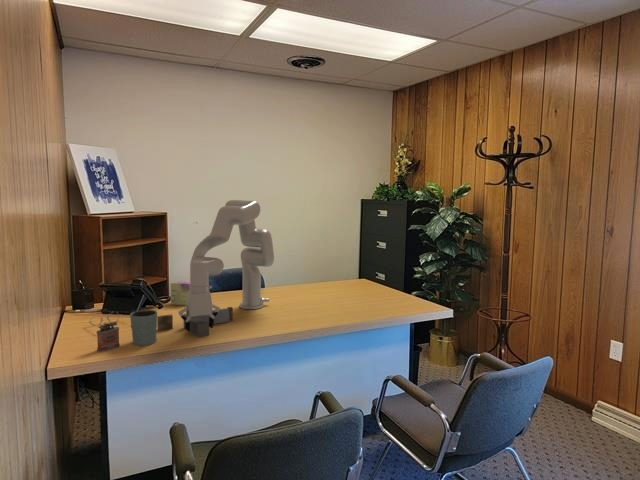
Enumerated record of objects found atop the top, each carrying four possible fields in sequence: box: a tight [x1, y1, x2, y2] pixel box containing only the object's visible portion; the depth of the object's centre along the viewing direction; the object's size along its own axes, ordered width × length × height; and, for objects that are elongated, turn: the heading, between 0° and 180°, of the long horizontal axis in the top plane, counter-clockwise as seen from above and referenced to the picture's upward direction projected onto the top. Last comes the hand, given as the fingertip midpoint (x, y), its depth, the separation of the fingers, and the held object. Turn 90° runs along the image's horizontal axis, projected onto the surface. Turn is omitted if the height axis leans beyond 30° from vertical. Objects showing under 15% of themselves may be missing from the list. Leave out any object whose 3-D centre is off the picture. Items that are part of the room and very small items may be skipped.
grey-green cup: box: [129, 309, 158, 347], centre depth 170 cm, size 10×10×12 cm
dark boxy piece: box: [188, 317, 210, 338], centre depth 183 cm, size 5×10×6 cm, turn 39°
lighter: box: [96, 321, 121, 352], centre depth 163 cm, size 8×3×10 cm, turn 138°
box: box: [170, 280, 190, 306], centre depth 227 cm, size 10×6×12 cm, turn 84°
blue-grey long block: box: [182, 308, 230, 329], centre depth 194 cm, size 20×3×6 cm, turn 121°
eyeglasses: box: [88, 311, 130, 329], centre depth 187 cm, size 16×19×5 cm
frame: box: [157, 306, 234, 332], centre depth 194 cm, size 34×2×6 cm, turn 121°
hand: (199, 328), depth 181 cm, fingers open, 9 cm apart
